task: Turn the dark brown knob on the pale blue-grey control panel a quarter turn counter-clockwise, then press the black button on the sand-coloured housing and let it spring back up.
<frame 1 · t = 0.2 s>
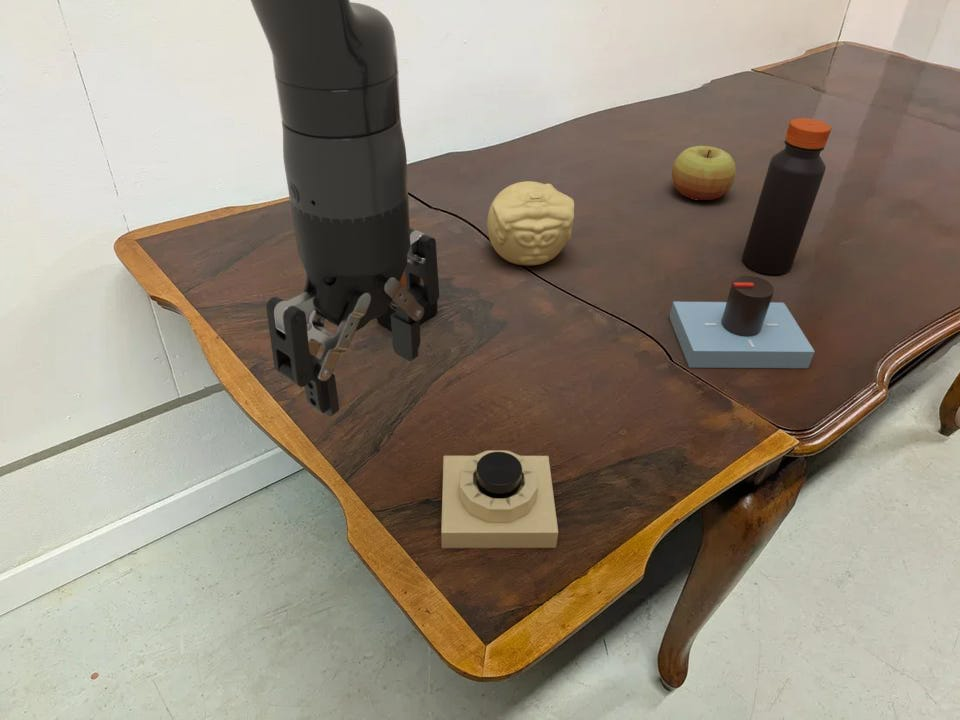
hand: (368, 380, 55), 15 cm above the table, tool pointing down, fingers open, 8 cm apart
bottle: (765, 264, 101), on the table
battery: (407, 319, 88), on the table
button box: (497, 507, 65), on the table
apple: (697, 195, 118), on the table
sculpture: (526, 255, 101), on the table
panel: (735, 342, 86), on the table
knob: (747, 304, 83), point 5 cm above the table, hinge at 0.0°
button: (499, 474, 62), point 4 cm above the table, slide at 0.1 cm
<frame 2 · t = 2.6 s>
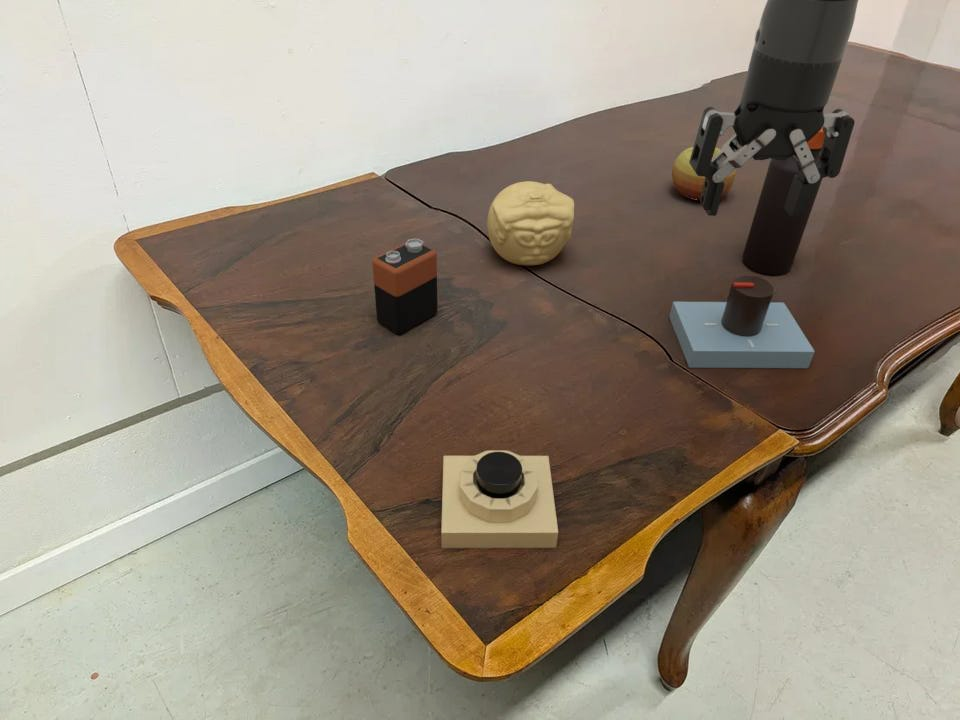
hand: (750, 212, 73), 18 cm above the table, tool pointing down, fingers open, 8 cm apart
nothing on the table moved.
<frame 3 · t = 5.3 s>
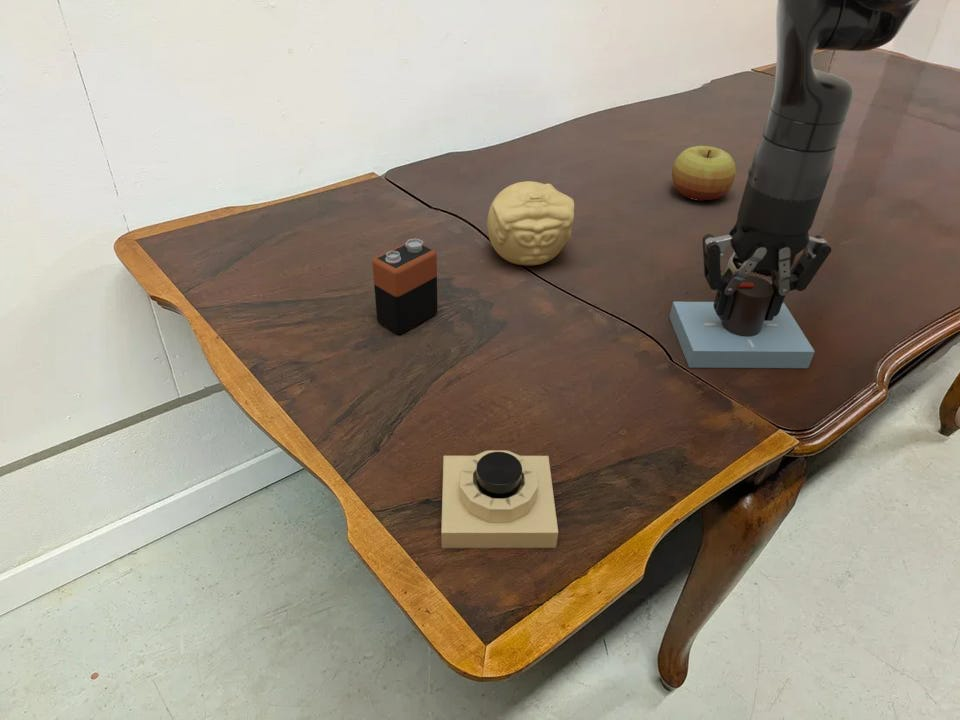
hand: (744, 316, 84), 4 cm above the table, tool pointing down, fingers closed on knob, 4 cm apart
knob: (747, 304, 83), point 5 cm above the table, hinge at 0.1°, touching gripper
everything else where it was.
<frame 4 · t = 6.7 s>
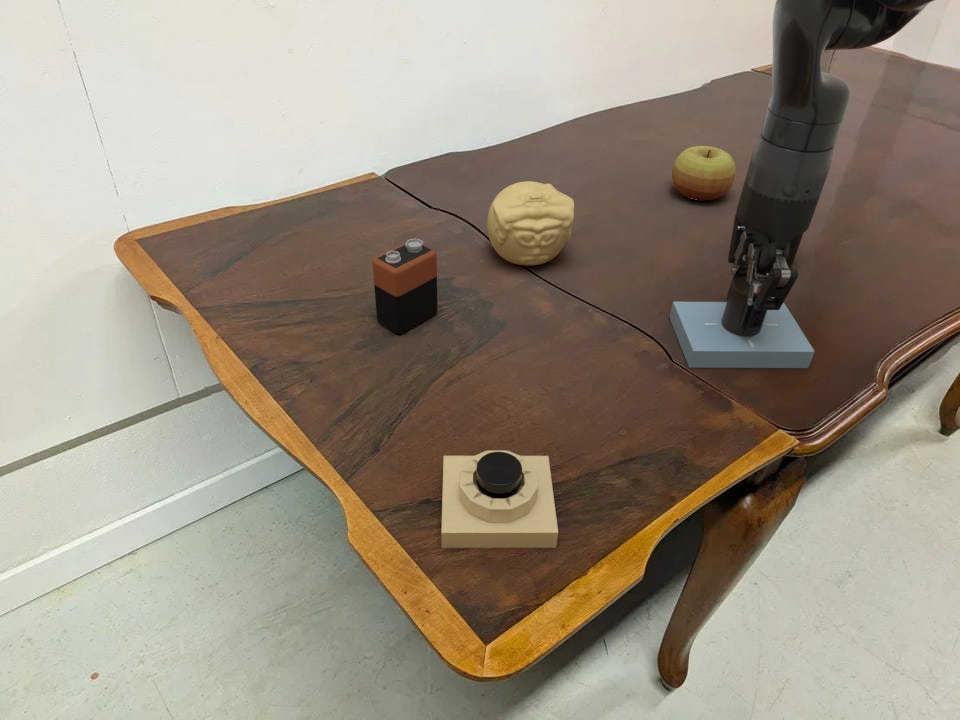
hand: (742, 315, 84), 4 cm above the table, tool pointing down, fingers closed on knob, 4 cm apart
knob: (747, 304, 83), point 5 cm above the table, hinge at 94.5°, touching gripper
everything else where it was.
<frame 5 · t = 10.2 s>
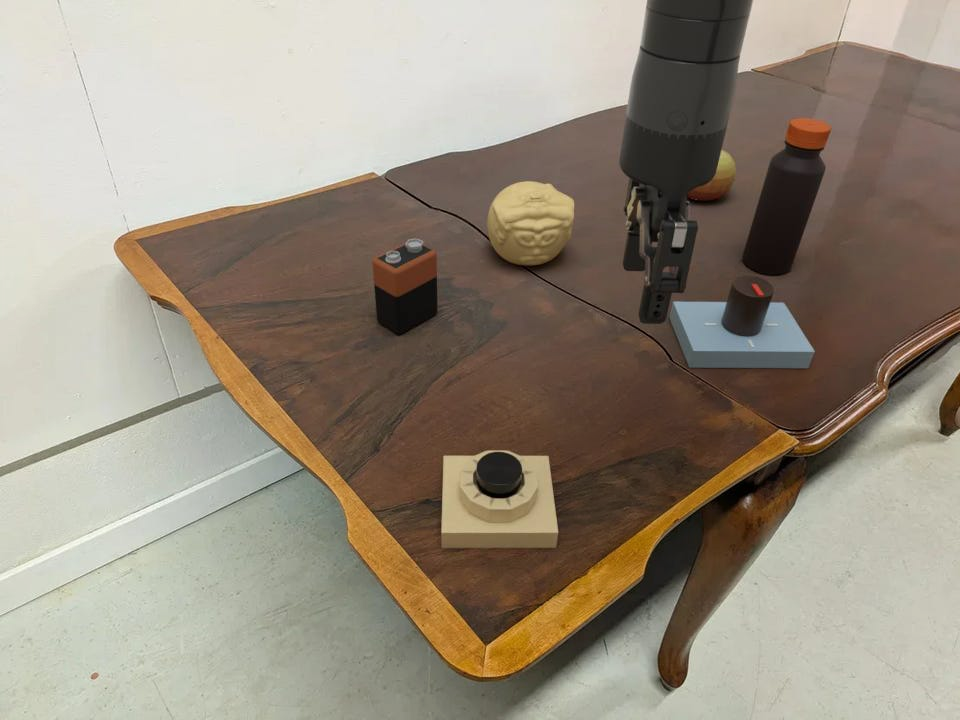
hand: (642, 293, 63), 17 cm above the table, tool pointing down, fingers open, 8 cm apart
knob: (747, 304, 83), point 5 cm above the table, hinge at 94.2°
everything else where it was.
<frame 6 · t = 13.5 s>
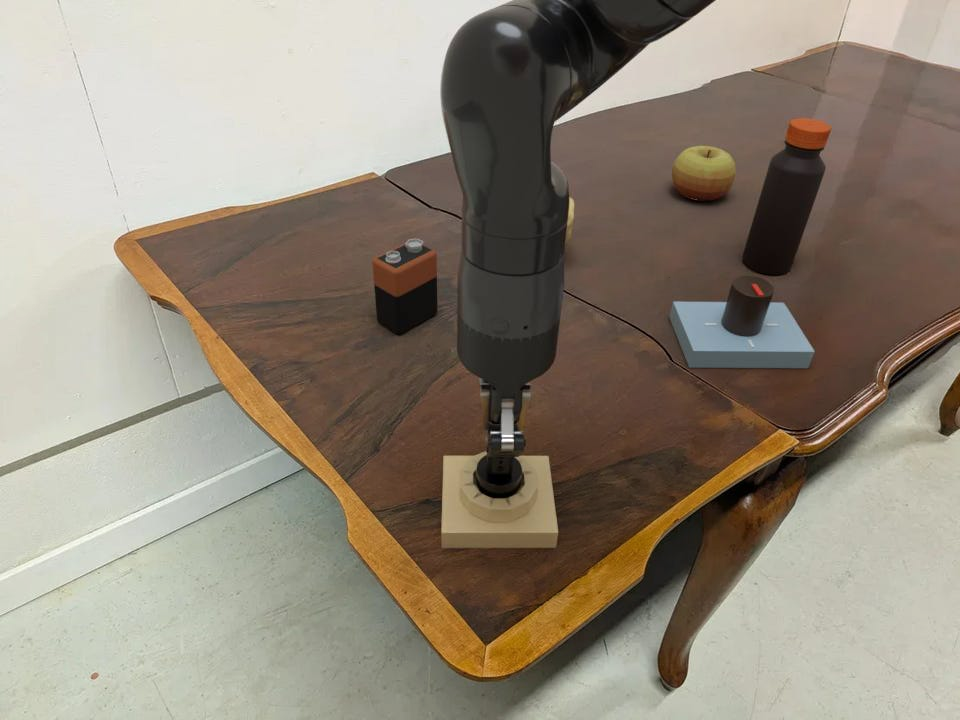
hand: (499, 467, 62), 5 cm above the table, tool pointing down, fingers closed
button: (498, 475, 62), point 4 cm above the table, slide at 0.0 cm, touching gripper
everything else where it was.
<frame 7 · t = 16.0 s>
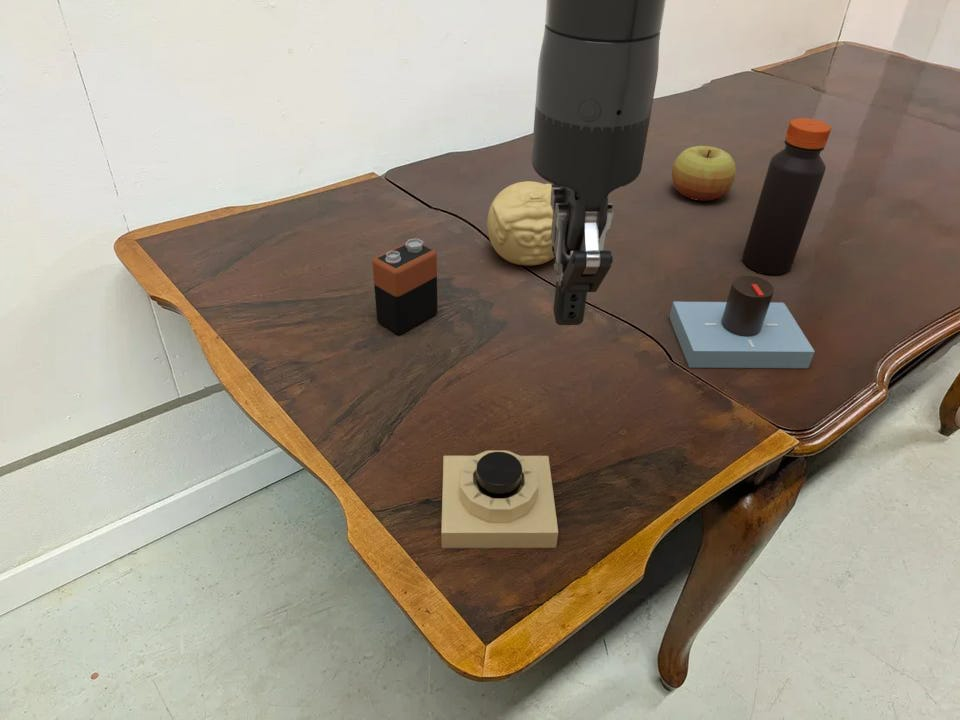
hand: (567, 319, 57), 19 cm above the table, tool pointing down, fingers closed
button: (499, 474, 62), point 4 cm above the table, slide at 0.1 cm
everything else where it was.
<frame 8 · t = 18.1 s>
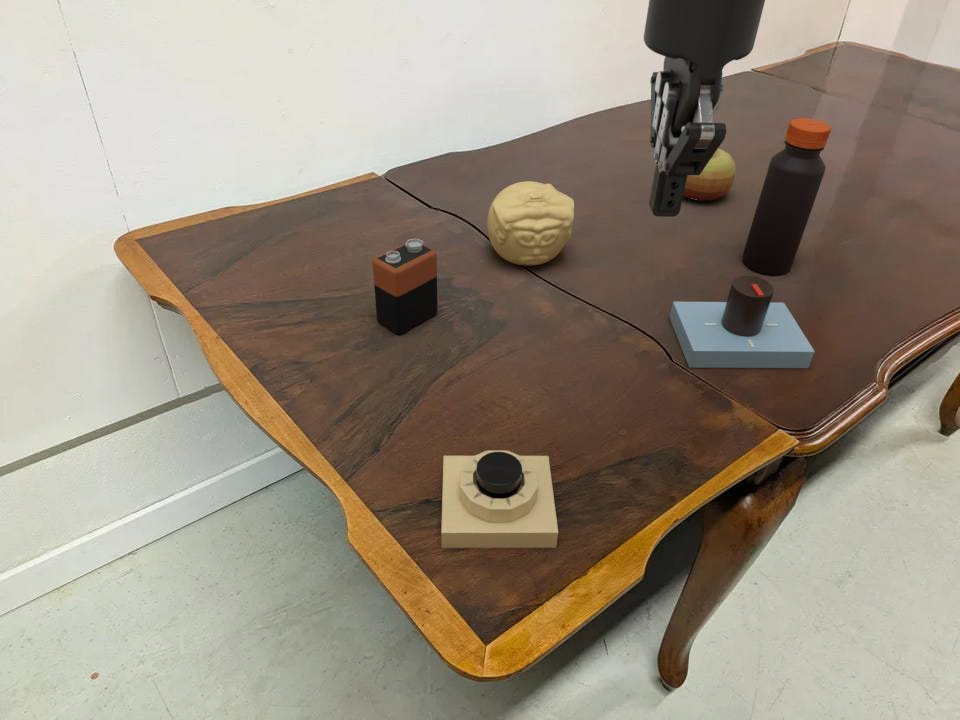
hand: (663, 211, 58), 25 cm above the table, tool pointing down, fingers closed
nothing on the table moved.
at the end: knob at +94° (first picture: +0°); button pushed in 1.1 cm at the most during the clip, back to where it started at the end; button slide at 0.1 cm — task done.
